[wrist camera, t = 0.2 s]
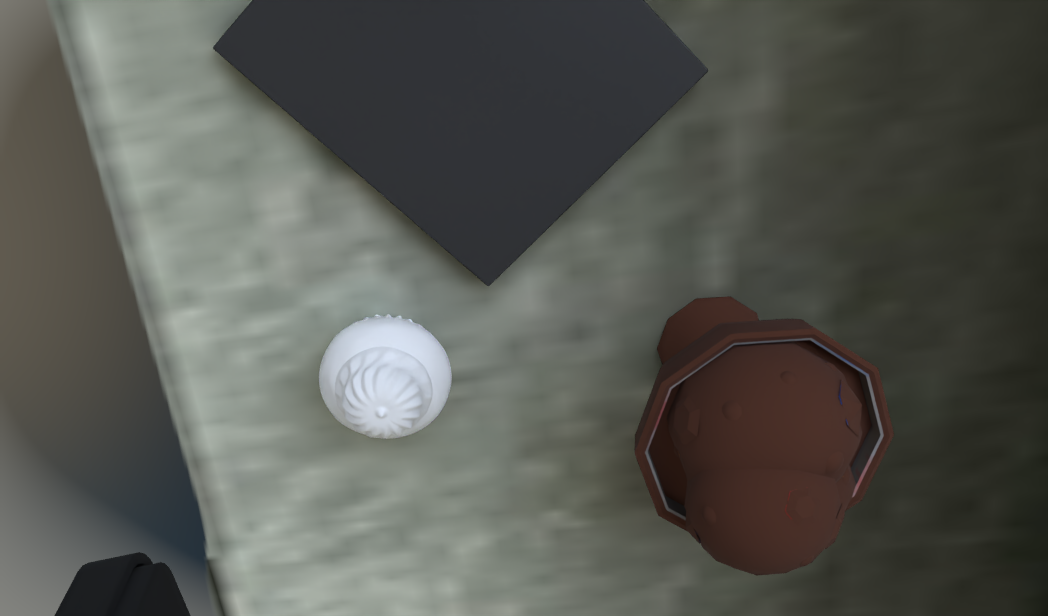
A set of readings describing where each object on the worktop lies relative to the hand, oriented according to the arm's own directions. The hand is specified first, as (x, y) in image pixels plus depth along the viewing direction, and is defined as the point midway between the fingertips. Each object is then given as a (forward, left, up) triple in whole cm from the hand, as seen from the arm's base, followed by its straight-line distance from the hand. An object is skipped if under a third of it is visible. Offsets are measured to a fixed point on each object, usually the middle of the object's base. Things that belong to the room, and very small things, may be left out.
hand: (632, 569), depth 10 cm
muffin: (+7, -14, -37) cm, 40 cm away
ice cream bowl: (+19, -3, -37) cm, 41 cm away
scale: (0, -1, -37) cm, 37 cm away
